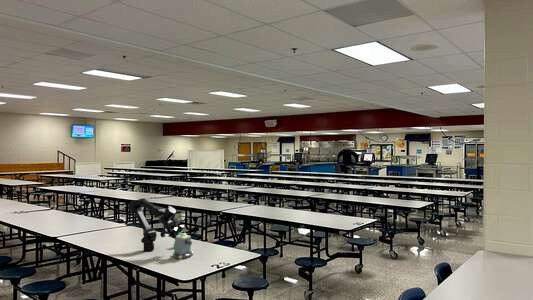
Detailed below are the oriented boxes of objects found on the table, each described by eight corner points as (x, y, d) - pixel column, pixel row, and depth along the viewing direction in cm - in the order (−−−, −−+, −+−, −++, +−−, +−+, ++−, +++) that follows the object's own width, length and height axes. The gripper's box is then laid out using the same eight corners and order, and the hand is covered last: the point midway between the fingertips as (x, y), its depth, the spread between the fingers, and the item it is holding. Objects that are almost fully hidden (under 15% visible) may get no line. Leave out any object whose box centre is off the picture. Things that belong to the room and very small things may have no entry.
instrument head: (172, 253, 243) (174, 234, 242) (183, 249, 252) (184, 231, 252) (184, 256, 238) (185, 236, 238) (195, 252, 247) (196, 233, 247)
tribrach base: (167, 257, 243) (167, 251, 243) (180, 252, 255) (180, 247, 255) (182, 260, 237) (182, 254, 237) (195, 255, 249) (195, 249, 249)
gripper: (163, 217, 242) (176, 235, 236) (182, 213, 258) (194, 230, 252) (154, 228, 245) (167, 246, 240) (174, 223, 262) (186, 240, 256)
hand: (179, 240), depth 247 cm, fingers closed, pressing on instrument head
